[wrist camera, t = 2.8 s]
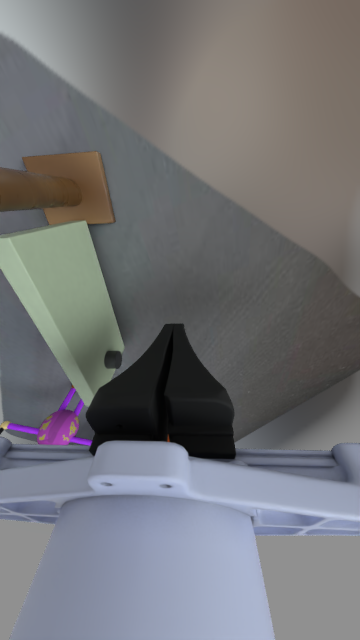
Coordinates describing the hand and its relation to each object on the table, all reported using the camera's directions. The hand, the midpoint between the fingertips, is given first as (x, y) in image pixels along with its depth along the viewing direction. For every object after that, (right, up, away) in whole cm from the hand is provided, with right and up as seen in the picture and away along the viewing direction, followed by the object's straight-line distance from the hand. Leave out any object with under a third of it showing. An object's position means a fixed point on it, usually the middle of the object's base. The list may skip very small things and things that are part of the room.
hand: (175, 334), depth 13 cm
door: (-6, +3, +4) cm, 8 cm away
